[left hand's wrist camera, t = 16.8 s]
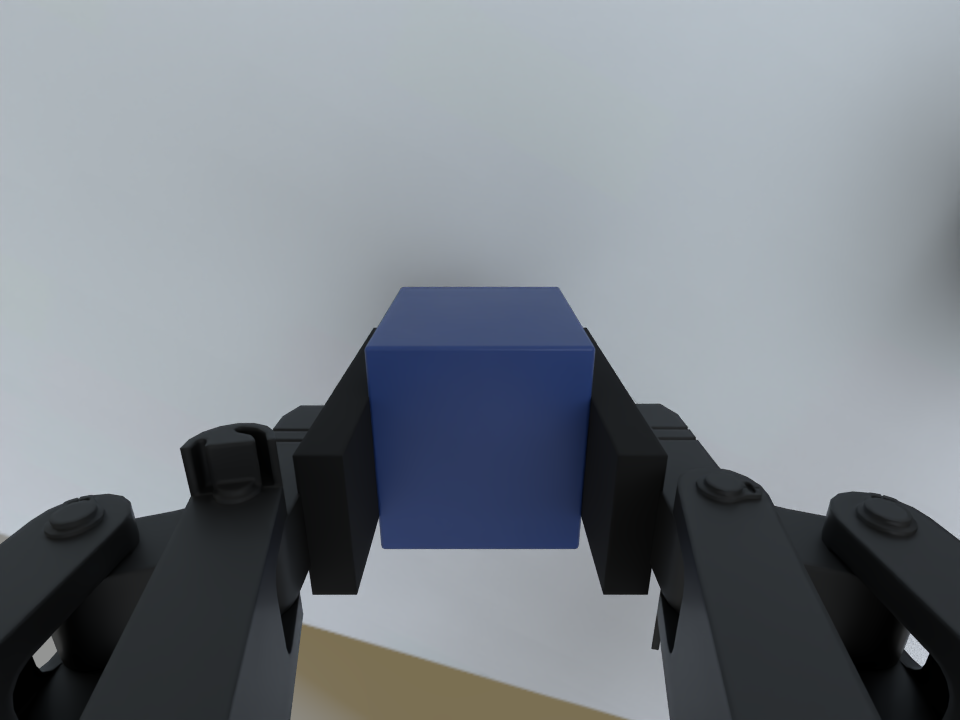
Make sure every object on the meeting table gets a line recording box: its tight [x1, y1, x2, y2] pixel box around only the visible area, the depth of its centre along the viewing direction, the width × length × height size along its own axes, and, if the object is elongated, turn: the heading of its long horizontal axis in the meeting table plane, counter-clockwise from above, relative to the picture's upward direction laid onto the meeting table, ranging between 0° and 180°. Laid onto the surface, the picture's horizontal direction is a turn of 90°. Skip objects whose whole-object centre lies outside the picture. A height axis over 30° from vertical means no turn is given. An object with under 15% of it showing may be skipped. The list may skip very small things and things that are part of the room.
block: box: [365, 287, 595, 549], centre depth 12 cm, size 4×5×5 cm
